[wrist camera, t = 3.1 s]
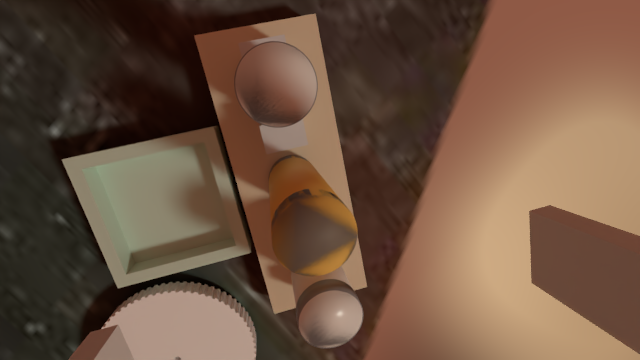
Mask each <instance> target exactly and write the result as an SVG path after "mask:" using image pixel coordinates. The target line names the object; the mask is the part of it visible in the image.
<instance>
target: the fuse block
mask: <svg viewBox="0 0 640 360" xmlns="http://www.w3.org/2000/svg"><path fill="white" fill-rule="evenodd" d="M194 37H195V40H196V44H197V47H198V51H199V54H200V58H201V61H202V65H203V68H204V72H205V75H206V79H207V82H208V85H209V89H210V92H211V96H212V99H213V103H214V106H215V110H216V113H217V117H218V120H219V124H220V127H221V131H222V134H223V138H224V141H225V144H226V148H227V151H228V155H229V158H230V162H231V165H232V169H233V172H234V176H235V179H236V183H237V186H238V190H239V193H240V196H241V200H242V203H243V207H244V210H245V214H246V217H247V221H248V224H249V228H250V231H251V235H252V238H253V242H254V245H255V249H256V252H257V255H258V259H259V262H260V266H261V269H262V273H263V276H264V280H265V283H266V287H267V290H268V294H269V297H270V301H271V304H272V307H273V311H274V314H276V313H279V312H283V311H286V310H290V309H293V308H296V316H297V323H298V329H299V332H300V334H301V336H302V337H303V339H304V340H305V341H306V342H308V343H309V344H311V345H313V346H315V347H319V348H334V347H338V346H340V345H342V344H344V343H346V342H348V341H349V340H350V339H352V338H353V337H354V336H355V335H356V333H357V332H358V331H359V329H360V327H361V325H362V321H363V309H362V306H361V303H360V301H359V299H358V297H357V295H356V293H355V291H354V290H358V289H361V288H364V287H367V284H366V279H365V273H364V268H363V263H362V257H361V252H360V247H359V242H358V236H357V241H356V245H355V248H354V250H353V252H352V254H351V255H350V257H349V258H348V259H347V261H346V262H345V263H344V264H343V265H341V266H340V267H339V268H337V269H336V270H334V271H332V272H330V273H327V274H325V275H320V276H302V275H299V274H296V273H293V272H291V271H290V270H288V269H287V268H285V267H284V266H283V265H282V264H281V263H280V262H279V260H278V259H277V257H276V255H275V253H274V251H273V247H272V238H271V218H270V198H269V172H270V170H271V168H272V166H273V165H274V163H275V162H276V161H278V160H279V159H281V158H283V157H285V156H289V155H297V156H301V157H303V158H305V159H307V160H308V161H309V162H310V163H311V164H312V165H313V166H314V168H315V169H316V170H317V171H318V172H319V174H320V175H321V176H322V177H323V179H324V180H325V181H326V182H327V183H328V185H329V186H330V187H331V188H332V190H333V191H334V192H335V193H336V194H337V196H338V197H339V198H340V199H341V200H342V202H343V203H344V204H345V205H346V207H347V208H348V209H349V210H350V211H351V213H352V215H353V210H352V204H351V199H350V194H349V189H348V183H347V178H346V173H345V167H344V162H343V157H342V152H341V146H340V141H339V136H338V130H337V125H336V120H335V114H334V109H333V104H332V99H331V93H330V88H329V83H328V77H327V72H326V67H325V62H324V56H323V51H322V46H321V40H320V35H319V30H318V24H317V19H316V14H310V15H305V16H299V17H294V18H288V19H282V20H277V21H271V22H266V23H260V24H255V25H249V26H244V27H238V28H233V29H227V30H221V31H216V32H210V33H205V34H199V35H194ZM353 216H354V215H353Z"/></svg>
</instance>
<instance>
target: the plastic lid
mask: <svg viewBox="0 0 640 360" xmlns="http://www.w3.org/2000/svg"><path fill="white" fill-rule="evenodd" d="M236 301H237V300H236V299H235V298H234V299H232V296H231V295H226V292H221V291H220V289H214V287H213V286H211V287H208V285H207V284H205V285H201V283H197V284H194V282H190V283H187V281H184V282H183V283H180V282H179V281H177V282H176V283H172V282H169V283H168V284H165V283H162V284H161V285H160V286H158V285H154V287H153V288H151V287H148V288H147V289H146V290H141V291H140V293H139V294H138V293H136V294H134V296H133V297H129V298H128V299H127V301H124V302H123V303H122V304H121V305H119V306H118V308H117V309H116V310H115V311H114V312H113V313H112V315H111V316H110V317H109V319H108V320H107V321H106V323H105V324H104V325H103V327H102V328H101V329H104V328H107V327H111V326H115V325H119V327H120V329H121V332H122V334H123V336H124V338H125V340H126V343H127V345H128V347H129V349H130V352H131V354H132V356H133V358H134V360H256V332H255V327H253V321H251V317H250V316H248V312H245V308H244V307H241V304H240V303H237V302H236Z"/></svg>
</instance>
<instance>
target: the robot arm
mask: <svg viewBox="0 0 640 360" xmlns="http://www.w3.org/2000/svg"><path fill="white" fill-rule="evenodd" d="M529 214H530V244H531V278H532V283H533V284H534V285H536V286H537V287H539V288H541V289H542V290H544V291H545V292H546V293H548V294H549V295H551V296H553V297H554V298H556V299H557V300H559V301H560V302H562V303H563V304H565V305H566V306H568V307H569V308H571V309H572V310H574V311H575V312H577V313H578V314H580V315H581V316H583V317H584V318H586V319H587V320H589V321H590V322H592V323H593V324H595V325H596V326H598V327H600V328H601V329H603V330H604V331H605V332H607V333H609V334H610V335H612V336H613V337H615V338H616V339H618V340H619V341H621V342H622V343H624V344H625V345H627V346H628V347H630V348H631V349H633V350H634V351H636V352H637V353H639V354H640V236H638V235H634V234H632V233H629V232H626V231H623V230H620V229H617V228H614V227H611V226H609V225H605V224H603V223H600V222H597V221H594V220H591V219H588V218H585V217H582V216H579V215H576V214H573V213H571V212H568V211H565V210H562V209H559V208H556V207H553V206H550V205H549V206H546V207H542V208H538V209H535V210H532V211H529ZM68 360H134V358H133V356H132V354H131V352H130V349H129V347H128V345H127V343H126V340H125V338H124V336H123V334H122V332H121V329H120V327H119V325H115V326H111V327H107V328H104V329H100V330H96V331H93V332H90V333H89V334H88V336H87V337H86V338H85V339H84V341H83V342H82V343H81V344H80V346H79V347H78V348H77V349H76V351H75V352H74V353H73V354H72V356H71V357H70V358H69V359H68Z"/></svg>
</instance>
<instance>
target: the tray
mask: <svg viewBox="0 0 640 360" xmlns="http://www.w3.org/2000/svg"><path fill="white" fill-rule="evenodd" d="M62 162H63V164H64V166H65V169H66V171H67V173H68V175H69V178H70V180H71V182H72V185H73V187H74V189H75V191H76V194H77V196H78V198H79V201H80V203H81V205H82V208H83V210H84V212H85V214H86V217H87V219H88V221H89V224H90V226H91V228H92V230H93V233H94V235H95V237H96V240H97V242H98V244H99V247H100V249H101V251H102V253H103V256H104V258H105V260H106V263H107V265H108V267H109V269H110V272H111V274H112V276H113V279H114V281H115V283H116V286H117V288H121V287H125V286H129V285H133V284H136V283H140V282H144V281H148V280H151V279H155V278H159V277H163V276H166V275H170V274H174V273H178V272H181V271H185V270H189V269H192V268H196V267H200V266H204V265H207V264H211V263H215V262H219V261H222V260H226V259H230V258H234V257H237V256H241V255H245V254H249V253H251V244H252V240H251V236H250V233H249V229H248V226H247V223H246V219H245V216H244V212H243V209H242V205H241V202H240V198H239V195H238V192H237V188H236V185H235V181H234V178H233V174H232V171H231V167H230V164H229V160H228V157H227V154H226V150H225V147H224V143H223V140H222V136H221V133H220V129H219V126H218V125H216V126H211V127H206V128H202V129H197V130H192V131H188V132H183V133H179V134H174V135H169V136H165V137H160V138H155V139H151V140H146V141H141V142H137V143H132V144H128V145H123V146H118V147H114V148H109V149H104V150H100V151H95V152H91V153H86V154H81V155H77V156H73V157H70V158H66V159H62Z"/></svg>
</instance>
